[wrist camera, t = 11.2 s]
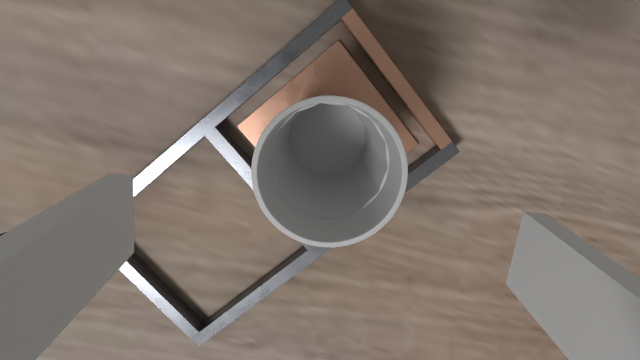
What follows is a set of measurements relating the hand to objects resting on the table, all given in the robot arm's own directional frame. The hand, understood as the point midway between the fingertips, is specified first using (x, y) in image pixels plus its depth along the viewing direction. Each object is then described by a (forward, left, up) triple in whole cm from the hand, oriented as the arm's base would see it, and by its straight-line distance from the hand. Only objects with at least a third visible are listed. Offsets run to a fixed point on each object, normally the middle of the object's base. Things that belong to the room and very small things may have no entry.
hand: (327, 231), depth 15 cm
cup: (0, 0, -20) cm, 20 cm away
